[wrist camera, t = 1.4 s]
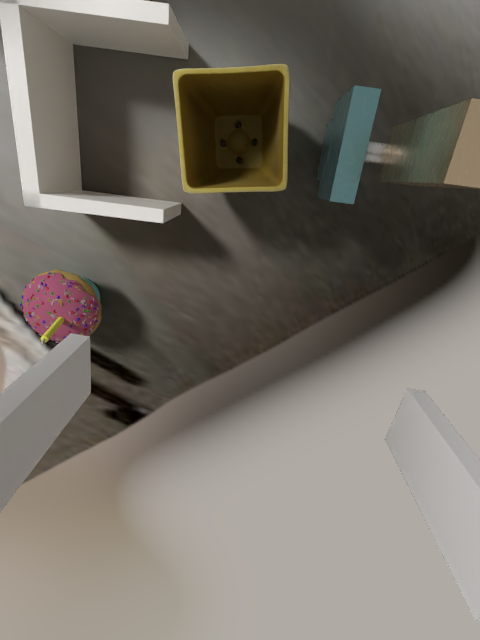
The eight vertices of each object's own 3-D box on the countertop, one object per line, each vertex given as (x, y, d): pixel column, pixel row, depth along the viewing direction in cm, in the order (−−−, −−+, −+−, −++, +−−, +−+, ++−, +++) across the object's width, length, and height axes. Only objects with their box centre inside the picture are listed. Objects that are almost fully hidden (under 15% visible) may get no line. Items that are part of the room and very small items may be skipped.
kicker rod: (329, 107, 32) (406, 38, 16) (401, 117, 32) (549, 57, 16) (312, 195, 35) (362, 211, 19) (378, 204, 35) (482, 227, 19)
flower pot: (198, 190, 36) (182, 194, 28) (191, 95, 33) (170, 68, 25) (279, 187, 36) (287, 191, 28) (281, 91, 33) (290, 62, 24)
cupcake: (119, 272, 40) (68, 308, 29) (111, 333, 44) (63, 386, 33) (47, 253, 40) (-31, 283, 29) (45, 317, 43) (-26, 365, 32)
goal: (55, 26, 31) (-6, -20, 24) (188, 44, 31) (169, 3, 24) (69, 199, 37) (24, 205, 30) (180, 214, 37) (163, 223, 30)
